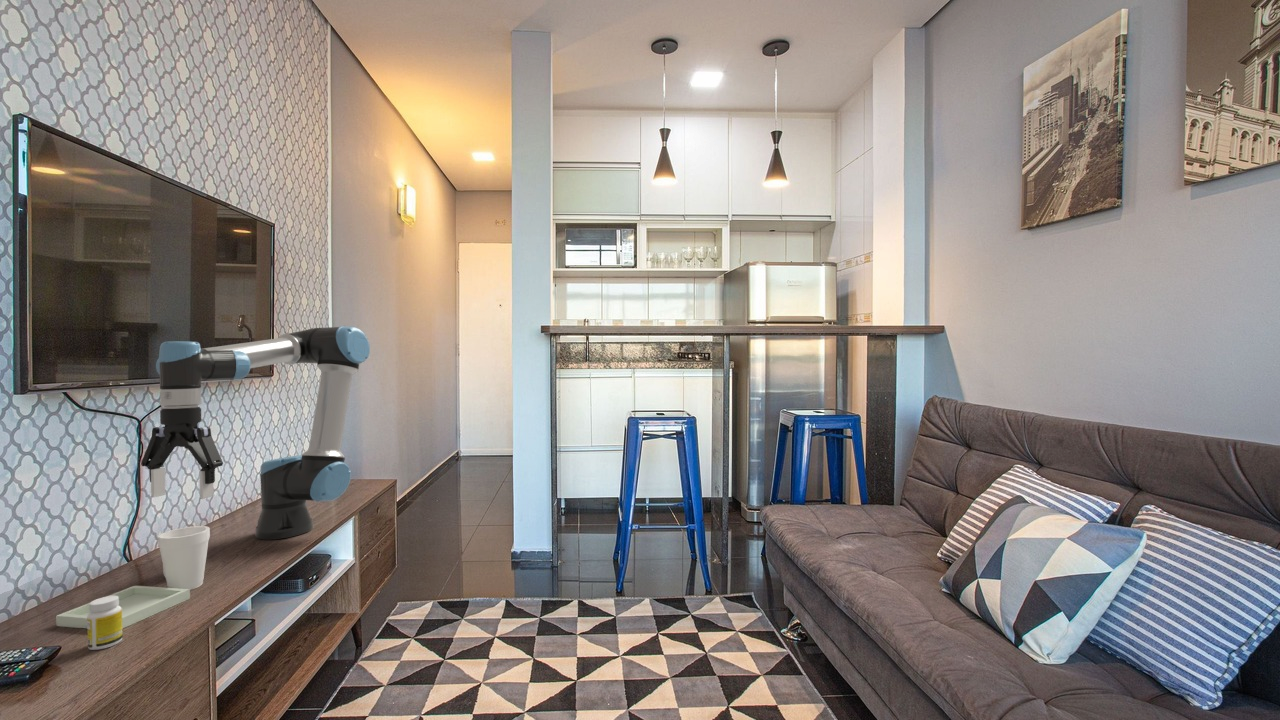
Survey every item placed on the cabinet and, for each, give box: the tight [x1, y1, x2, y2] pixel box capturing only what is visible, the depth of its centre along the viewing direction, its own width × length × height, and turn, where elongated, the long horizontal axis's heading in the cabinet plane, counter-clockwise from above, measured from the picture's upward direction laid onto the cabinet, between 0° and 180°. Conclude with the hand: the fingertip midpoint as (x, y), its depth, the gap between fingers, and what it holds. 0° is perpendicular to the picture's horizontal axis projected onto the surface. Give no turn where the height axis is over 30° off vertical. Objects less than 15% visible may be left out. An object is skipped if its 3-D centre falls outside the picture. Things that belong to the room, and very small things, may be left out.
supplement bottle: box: [87, 595, 124, 651], centre depth 106 cm, size 5×5×8 cm
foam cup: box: [157, 525, 211, 591], centre depth 133 cm, size 10×9×13 cm
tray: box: [55, 585, 191, 630], centre depth 120 cm, size 15×15×2 cm
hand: (182, 497), depth 132 cm, fingers open, 13 cm apart
